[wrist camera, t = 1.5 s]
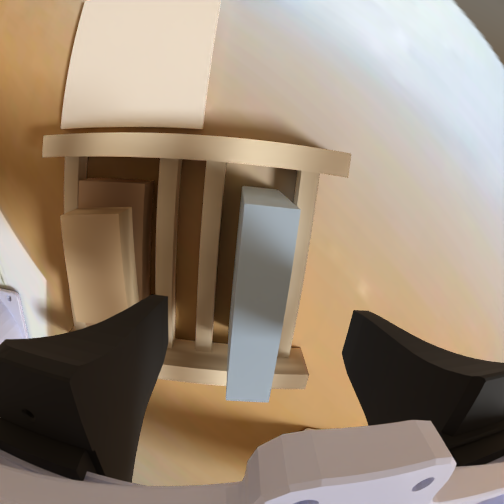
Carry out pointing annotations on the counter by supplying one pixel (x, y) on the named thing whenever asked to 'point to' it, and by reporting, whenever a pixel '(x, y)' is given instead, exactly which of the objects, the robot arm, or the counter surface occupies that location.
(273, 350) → the slate blue box
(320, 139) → the counter surface
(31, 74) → the counter surface
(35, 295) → the counter surface
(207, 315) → the rack
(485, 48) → the counter surface
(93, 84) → the pad
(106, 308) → the oak offcut
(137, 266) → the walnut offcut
